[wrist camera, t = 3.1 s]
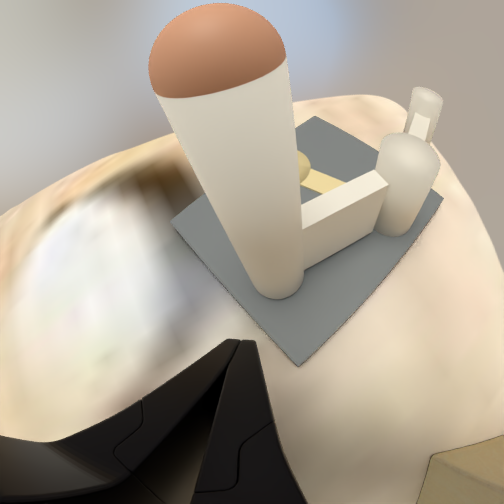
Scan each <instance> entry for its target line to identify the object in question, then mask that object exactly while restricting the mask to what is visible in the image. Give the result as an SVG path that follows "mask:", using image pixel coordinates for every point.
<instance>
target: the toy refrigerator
mask: <svg viewBox="0 0 504 504" xmlns="http://www.w3.org/2000/svg"><path fill="white" fill-rule="evenodd" d="M417 504H504V435H502V436H499V437H497V438H494V439H490V440H487V441H484V442H481V443H478V444H474V445H471V446H467V447H463V448H459V449H454V450H450V451H446V452H441V453H437V454H435V455H433V456H432V457H431V460H430V463H429V467H428V470H427V474H426V478H425V481H424V484H423V487H422V490H421V493H420V496H419V499H418V502H417Z"/></svg>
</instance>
